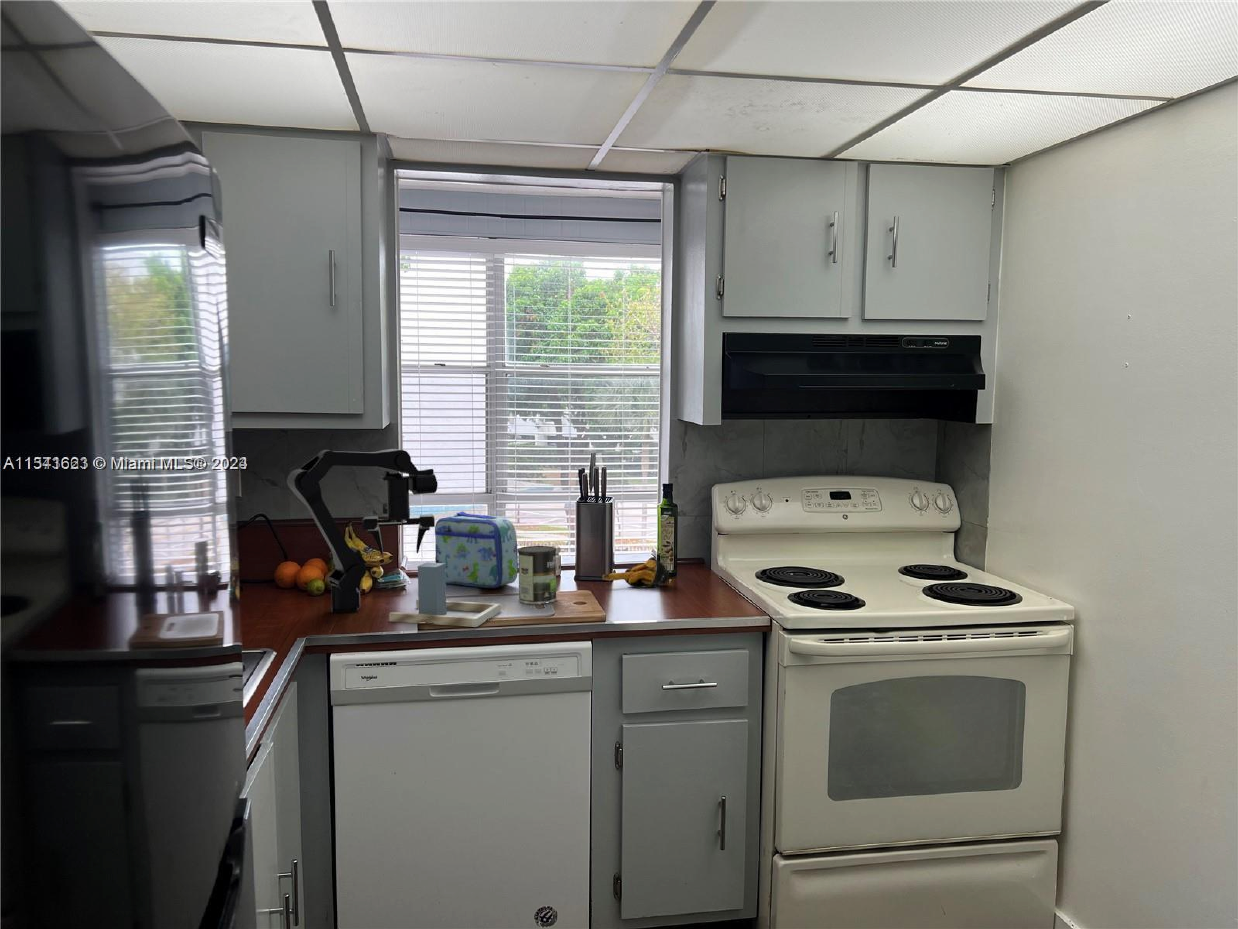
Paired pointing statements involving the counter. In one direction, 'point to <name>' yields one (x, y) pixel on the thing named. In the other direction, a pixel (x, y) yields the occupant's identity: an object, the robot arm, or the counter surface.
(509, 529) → the lunch box
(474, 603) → the wooden picture frame
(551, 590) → the coffee can
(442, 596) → the slate block
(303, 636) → the counter surface
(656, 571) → the yellow lumpy two-tone part
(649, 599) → the counter surface
